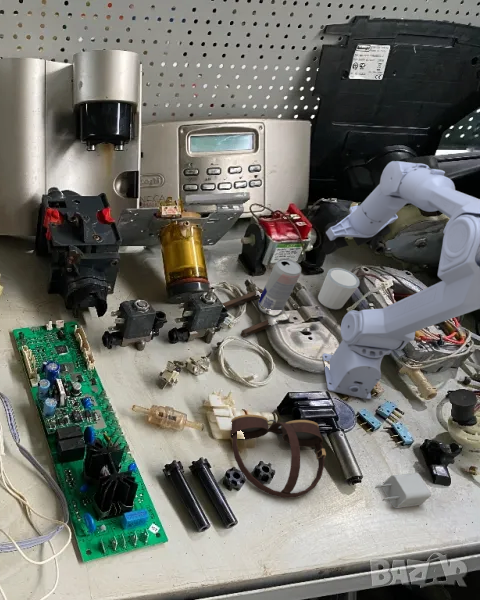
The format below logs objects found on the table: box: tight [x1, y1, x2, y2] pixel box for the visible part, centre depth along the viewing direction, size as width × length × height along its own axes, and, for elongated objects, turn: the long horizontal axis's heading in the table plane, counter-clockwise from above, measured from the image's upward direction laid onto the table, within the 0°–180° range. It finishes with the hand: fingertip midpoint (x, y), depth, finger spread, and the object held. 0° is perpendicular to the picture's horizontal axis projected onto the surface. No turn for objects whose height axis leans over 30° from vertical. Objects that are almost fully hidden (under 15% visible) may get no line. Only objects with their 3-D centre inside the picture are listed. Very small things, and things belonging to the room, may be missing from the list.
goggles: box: [229, 413, 327, 499], centre depth 84 cm, size 15×13×10 cm
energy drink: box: [257, 258, 302, 315], centre depth 111 cm, size 5×5×12 cm
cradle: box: [221, 288, 284, 339], centre depth 113 cm, size 13×9×2 cm
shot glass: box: [317, 267, 361, 310], centre depth 117 cm, size 7×7×7 cm
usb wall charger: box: [374, 472, 432, 509], centre depth 83 cm, size 4×7×4 cm, turn 99°
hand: (341, 246), depth 111 cm, fingers open, 7 cm apart
